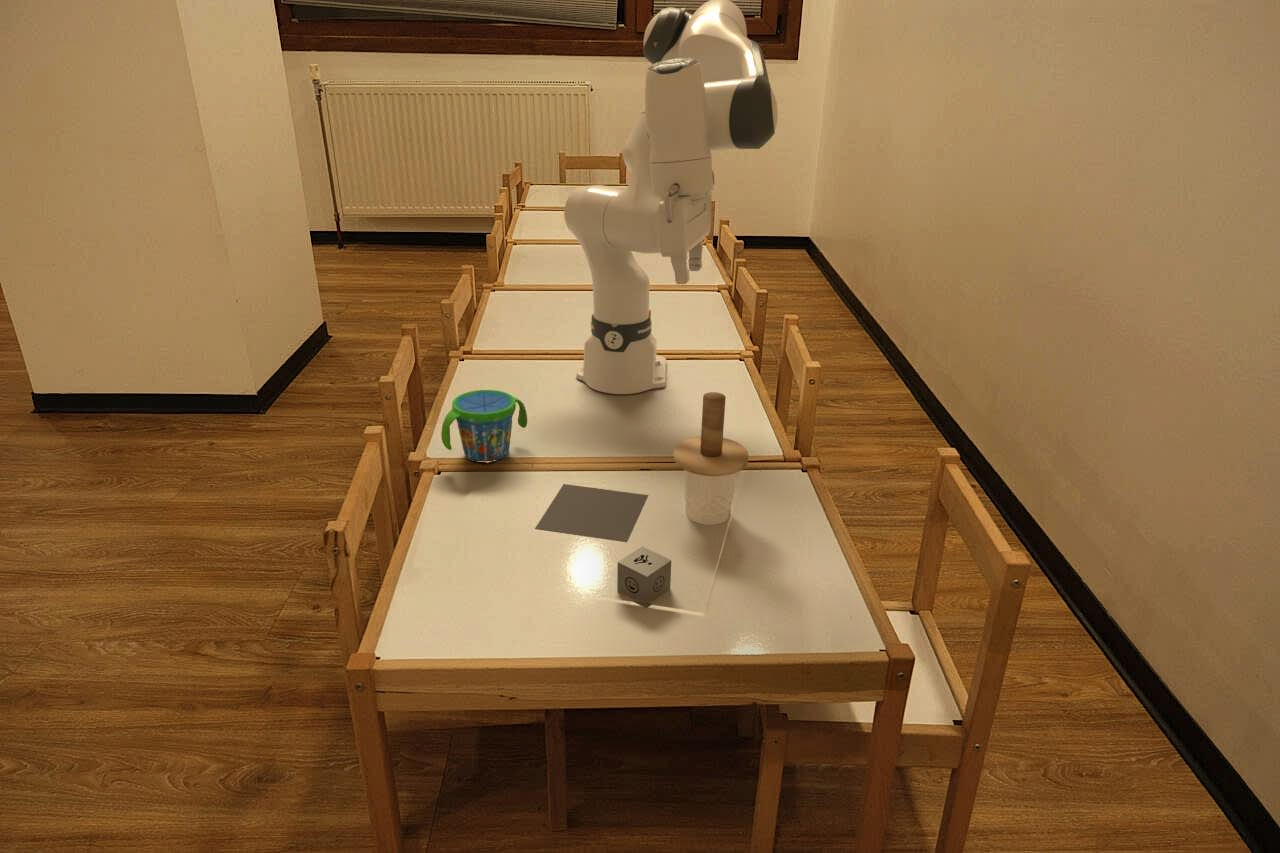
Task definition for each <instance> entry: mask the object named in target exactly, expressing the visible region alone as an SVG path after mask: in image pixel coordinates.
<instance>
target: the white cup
mask: <svg viewBox="0 0 1280 853" xmlns="http://www.w3.org/2000/svg"><path fill="white" fill-rule="evenodd" d="M736 476H737V473H734V474H730V475H725V476H704V475H699V474H694V473H691V472H688V471H686V470H684V500H685V514H686V517H687V519H689V520H691V521H692V522H694V523H698V524H701V525H706V526H707V525H709V526H713V525H719V524H722V523H724V522H726V521H728V519H729V517H730V515H731V510H732V503H733V499H734V492H735V491H734V490H735V484H736Z"/></svg>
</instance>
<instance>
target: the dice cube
mask: <svg viewBox="0 0 1280 853" xmlns="http://www.w3.org/2000/svg"><path fill="white" fill-rule="evenodd" d="M616 575H617V580H616V582H617V585H616V586H617V588H616V589H617V592H619V593H621V594H622V595H624V596H626V597H629V598H630V599H632V602H633V603H635V604H637V605H639V606H641V607H643V609H648V608H649V607H651V606H652V605H653V602H655V600H657V599H658V598H660V597H661V596H663V595H664V594H665V593H667V592H668V591H670V589H671V582H672V581H671V580H672V578H671V577H672V560H671V559H670V558H667V557H666V556H664V555H661V554H659V553H657V552H655V551H654V550H651V549H649V548H647V547H645V546H640V547H639V548H637V549H636V550H634V551H633V552H631V553H629V554H628V555H626V556H625V557H623V558H621V559H620V560H618V561H617V574H616Z"/></svg>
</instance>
